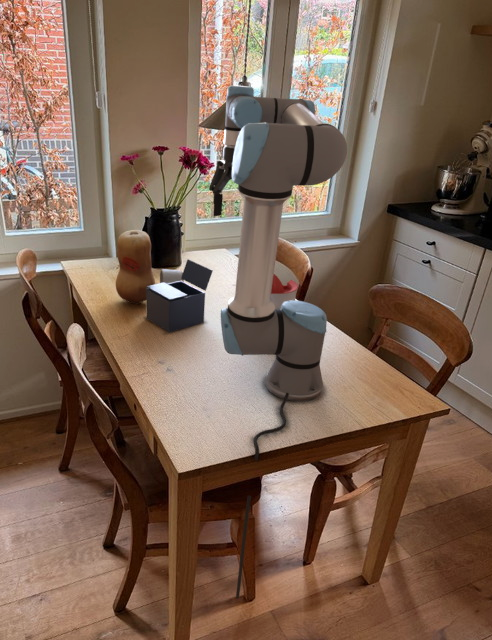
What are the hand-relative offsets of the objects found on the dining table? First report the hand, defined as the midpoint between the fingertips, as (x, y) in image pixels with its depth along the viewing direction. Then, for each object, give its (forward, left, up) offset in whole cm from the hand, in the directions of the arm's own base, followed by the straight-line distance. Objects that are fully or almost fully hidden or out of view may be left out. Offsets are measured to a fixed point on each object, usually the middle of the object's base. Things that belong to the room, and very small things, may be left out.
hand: (231, 220), depth 165 cm
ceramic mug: (+20, +24, -33) cm, 46 cm away
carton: (-8, +15, -33) cm, 37 cm away
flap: (-1, +10, -18) cm, 21 cm away
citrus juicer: (-8, -16, -33) cm, 37 cm away
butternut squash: (+3, +32, -33) cm, 46 cm away
